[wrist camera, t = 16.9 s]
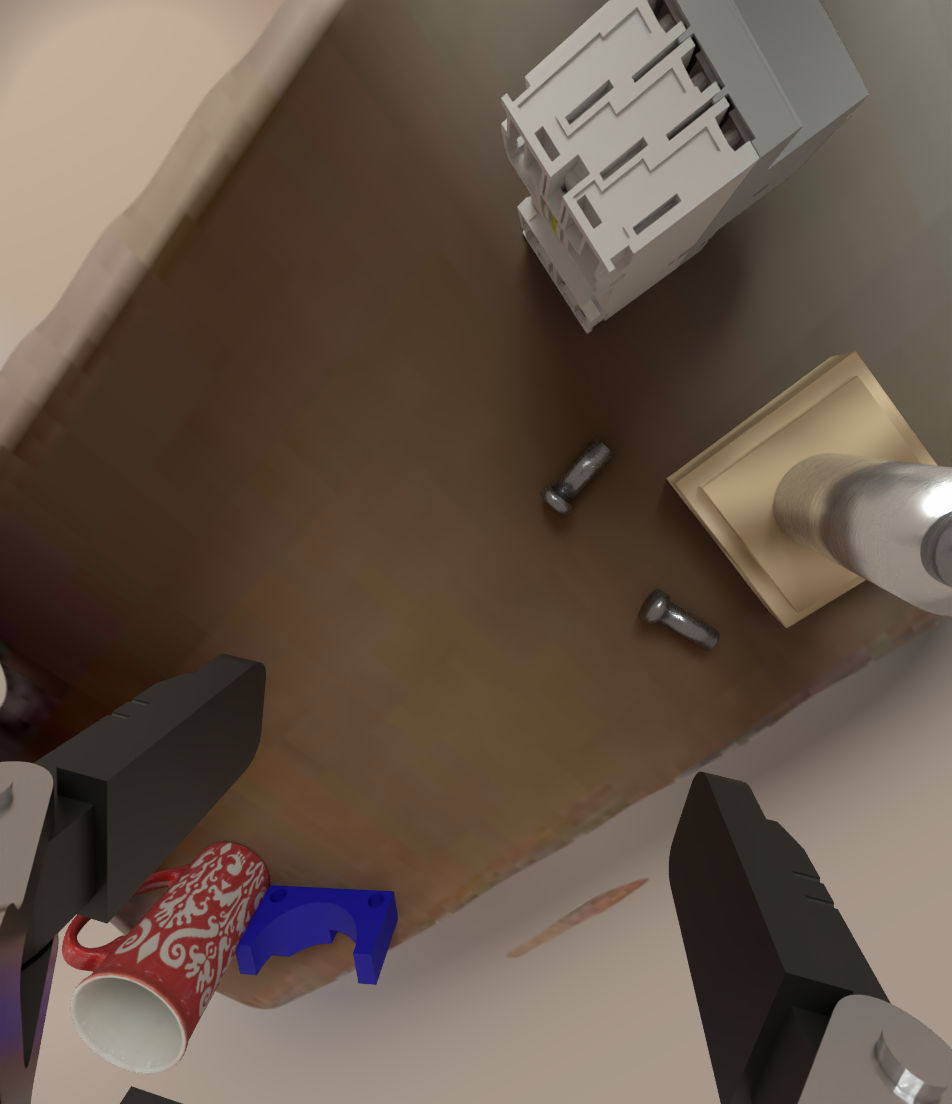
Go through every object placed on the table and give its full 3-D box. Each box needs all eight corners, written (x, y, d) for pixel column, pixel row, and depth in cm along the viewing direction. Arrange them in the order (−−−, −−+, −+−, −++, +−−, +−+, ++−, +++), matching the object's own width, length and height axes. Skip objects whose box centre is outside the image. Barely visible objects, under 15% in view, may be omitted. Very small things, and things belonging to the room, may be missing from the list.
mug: (296, 867, 50) (203, 1024, 37) (257, 928, 53) (157, 1095, 40) (180, 794, 50) (46, 925, 37) (146, 859, 53) (10, 1002, 40)
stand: (666, 478, 37) (678, 485, 33) (830, 356, 34) (864, 348, 30) (769, 612, 38) (793, 634, 34) (938, 506, 35) (985, 517, 31)
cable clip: (279, 924, 52) (243, 987, 46) (270, 885, 51) (233, 944, 45) (400, 932, 50) (378, 999, 44) (393, 891, 49) (371, 954, 43)
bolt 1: (565, 513, 39) (566, 519, 36) (540, 491, 39) (539, 495, 36) (617, 457, 37) (621, 459, 35) (591, 433, 37) (593, 434, 35)
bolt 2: (637, 611, 40) (641, 623, 37) (656, 585, 39) (662, 595, 37) (698, 649, 39) (707, 663, 37) (719, 623, 39) (729, 636, 37)
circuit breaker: (795, 180, 32) (986, -14, 18) (587, 334, 36) (604, 276, 21) (729, 64, 31) (872, -239, 17) (522, 233, 35) (495, 103, 21)
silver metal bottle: (753, 493, 33) (871, 541, 20) (841, 432, 31) (1028, 442, 19) (808, 565, 33) (957, 655, 20) (897, 508, 32) (1118, 568, 19)
